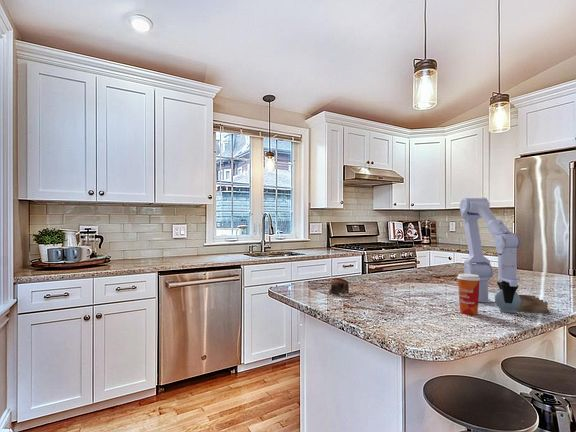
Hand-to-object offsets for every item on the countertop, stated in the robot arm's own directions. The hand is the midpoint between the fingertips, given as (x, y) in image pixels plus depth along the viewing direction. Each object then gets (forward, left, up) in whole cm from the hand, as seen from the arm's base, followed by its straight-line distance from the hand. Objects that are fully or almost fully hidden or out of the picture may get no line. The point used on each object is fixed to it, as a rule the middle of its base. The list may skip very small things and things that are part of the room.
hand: (507, 302), depth 123 cm
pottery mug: (-64, +11, -4) cm, 65 cm away
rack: (+9, +8, -4) cm, 13 cm away
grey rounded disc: (0, 0, -3) cm, 3 cm away
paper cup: (-14, -6, -4) cm, 16 cm away
